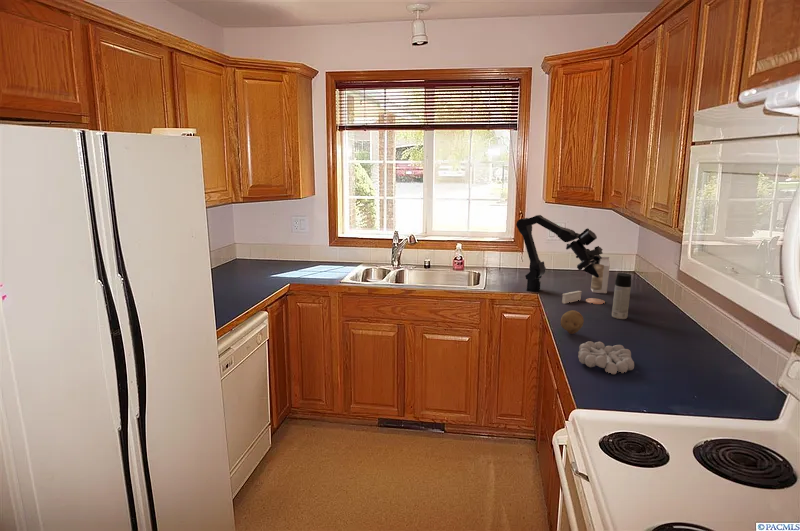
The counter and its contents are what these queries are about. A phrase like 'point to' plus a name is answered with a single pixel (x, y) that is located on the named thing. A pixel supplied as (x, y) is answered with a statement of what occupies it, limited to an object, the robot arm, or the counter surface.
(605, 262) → the milk carton
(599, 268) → the ash post
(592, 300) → the terracotta coaster
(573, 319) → the natural sponge
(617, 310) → the spray can
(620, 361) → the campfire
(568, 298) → the off-white long flat block
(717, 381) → the counter surface
